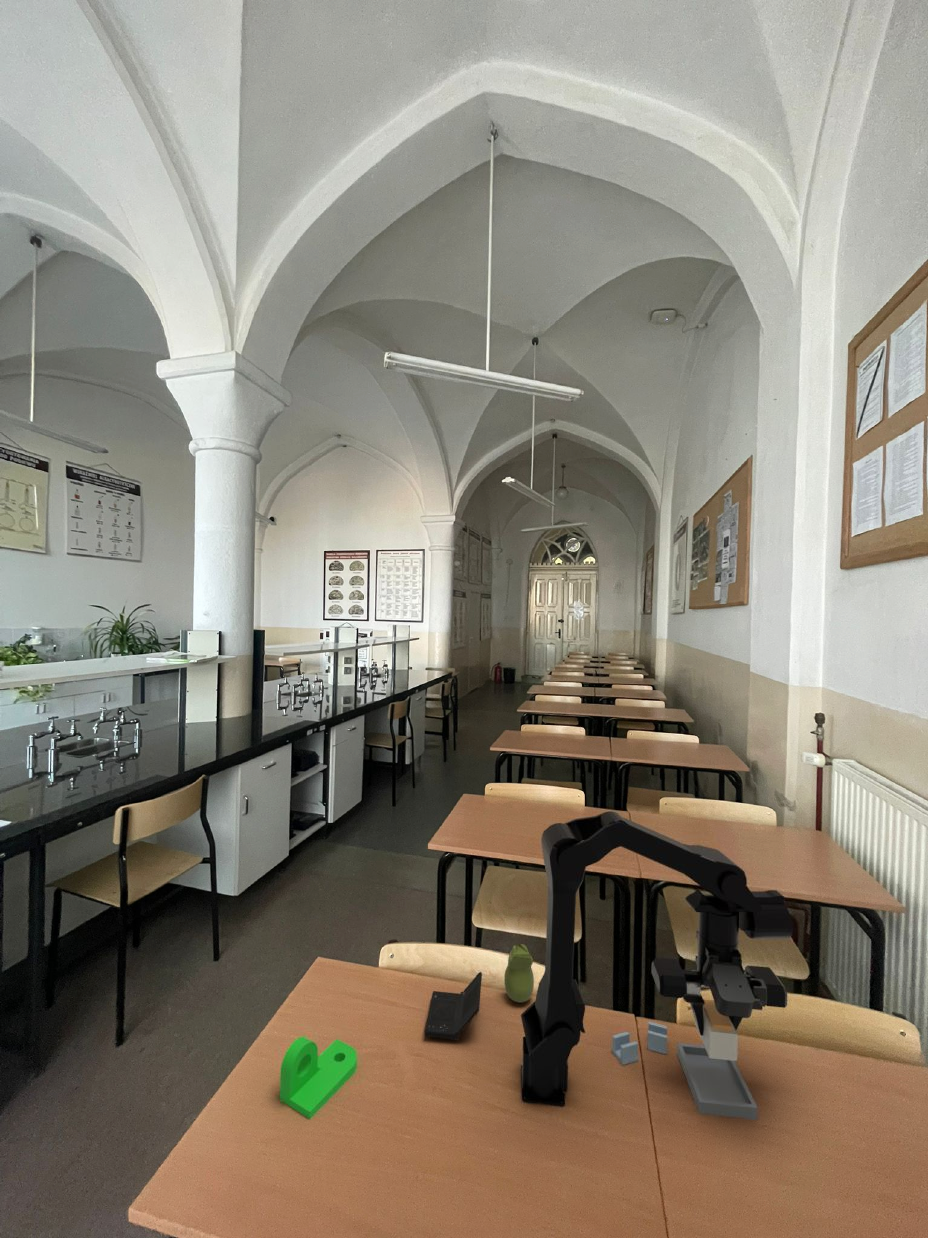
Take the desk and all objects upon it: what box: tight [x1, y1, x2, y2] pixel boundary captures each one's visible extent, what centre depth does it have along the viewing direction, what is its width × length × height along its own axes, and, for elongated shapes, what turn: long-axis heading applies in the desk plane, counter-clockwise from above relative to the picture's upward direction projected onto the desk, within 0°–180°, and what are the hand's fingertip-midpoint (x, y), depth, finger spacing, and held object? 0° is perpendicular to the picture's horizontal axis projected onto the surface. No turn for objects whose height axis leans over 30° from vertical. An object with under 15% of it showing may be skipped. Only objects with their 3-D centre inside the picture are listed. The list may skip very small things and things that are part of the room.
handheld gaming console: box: [423, 971, 483, 1041], centre depth 98 cm, size 12×7×10 cm
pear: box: [503, 942, 535, 1003], centre depth 104 cm, size 6×5×10 cm
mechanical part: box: [279, 1036, 358, 1120], centre depth 84 cm, size 12×6×8 cm, turn 151°
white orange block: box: [694, 998, 739, 1062], centre depth 85 cm, size 4×7×5 cm, turn 174°
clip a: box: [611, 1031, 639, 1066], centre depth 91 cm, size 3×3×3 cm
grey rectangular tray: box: [676, 1042, 759, 1121], centre depth 85 cm, size 8×11×2 cm
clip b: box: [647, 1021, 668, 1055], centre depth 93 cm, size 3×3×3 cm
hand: (715, 1035), depth 85 cm, fingers closed on white orange block, 4 cm apart
